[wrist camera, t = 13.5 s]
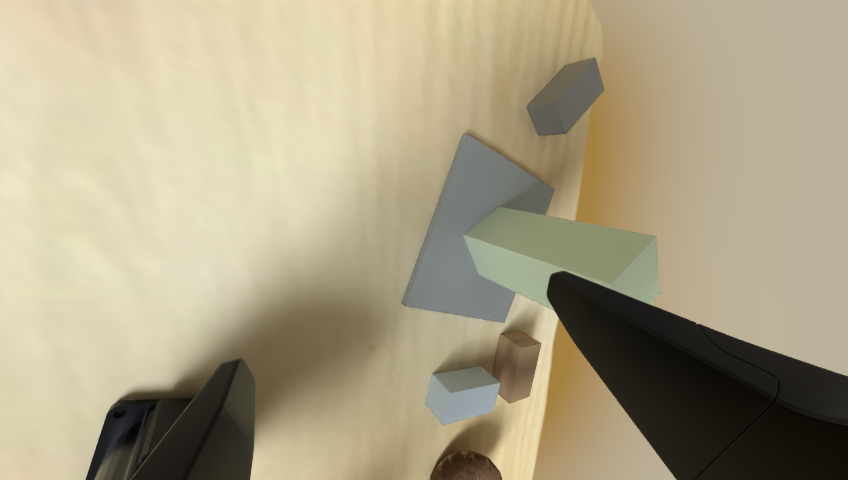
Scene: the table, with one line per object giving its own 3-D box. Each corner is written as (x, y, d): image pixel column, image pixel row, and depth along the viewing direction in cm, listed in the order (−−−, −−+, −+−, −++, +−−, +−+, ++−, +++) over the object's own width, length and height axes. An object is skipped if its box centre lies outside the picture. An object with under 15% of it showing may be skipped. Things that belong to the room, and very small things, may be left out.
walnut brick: (507, 379, 35) (529, 396, 32) (488, 385, 33) (509, 403, 31) (518, 329, 34) (541, 343, 31) (498, 333, 32) (521, 348, 30)
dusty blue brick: (479, 365, 32) (500, 382, 29) (472, 391, 32) (492, 411, 30) (431, 372, 28) (450, 393, 26) (424, 402, 29) (442, 425, 26)
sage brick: (478, 274, 28) (619, 341, 18) (462, 234, 26) (610, 284, 16) (512, 246, 29) (659, 294, 19) (499, 206, 27) (656, 236, 17)
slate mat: (500, 320, 31) (504, 322, 31) (401, 303, 25) (405, 306, 24) (549, 189, 31) (554, 189, 30) (462, 134, 24) (467, 133, 24)
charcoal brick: (537, 135, 29) (566, 133, 26) (524, 107, 27) (554, 101, 25) (573, 95, 30) (604, 89, 27) (563, 65, 28) (595, 57, 26)
